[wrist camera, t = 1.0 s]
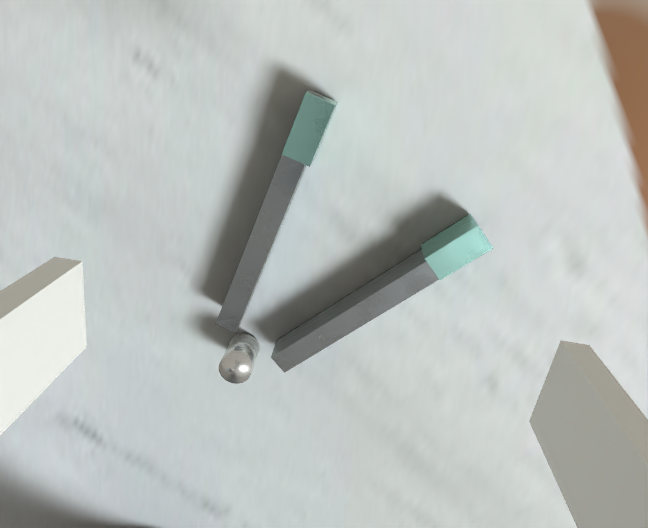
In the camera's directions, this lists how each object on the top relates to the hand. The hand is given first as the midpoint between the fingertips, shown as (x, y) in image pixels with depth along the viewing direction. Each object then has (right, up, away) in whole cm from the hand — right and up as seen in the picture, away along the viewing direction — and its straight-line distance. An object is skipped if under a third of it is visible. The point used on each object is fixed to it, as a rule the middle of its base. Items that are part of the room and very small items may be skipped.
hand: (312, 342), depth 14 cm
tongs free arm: (-3, +6, +21) cm, 22 cm away
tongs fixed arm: (+2, 0, +23) cm, 23 cm away
